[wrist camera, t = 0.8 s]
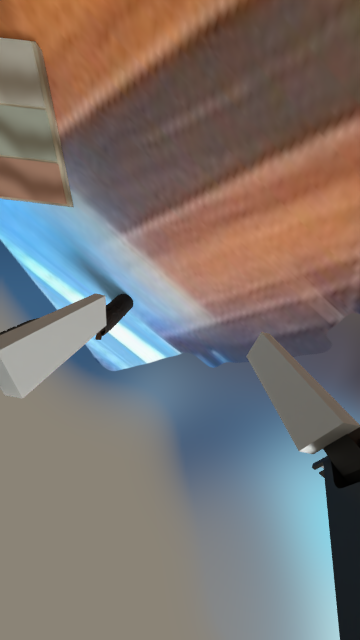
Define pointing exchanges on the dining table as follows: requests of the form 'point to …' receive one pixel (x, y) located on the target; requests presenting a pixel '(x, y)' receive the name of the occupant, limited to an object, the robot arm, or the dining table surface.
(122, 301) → the black screwdriver
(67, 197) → the board
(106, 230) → the dining table surface
